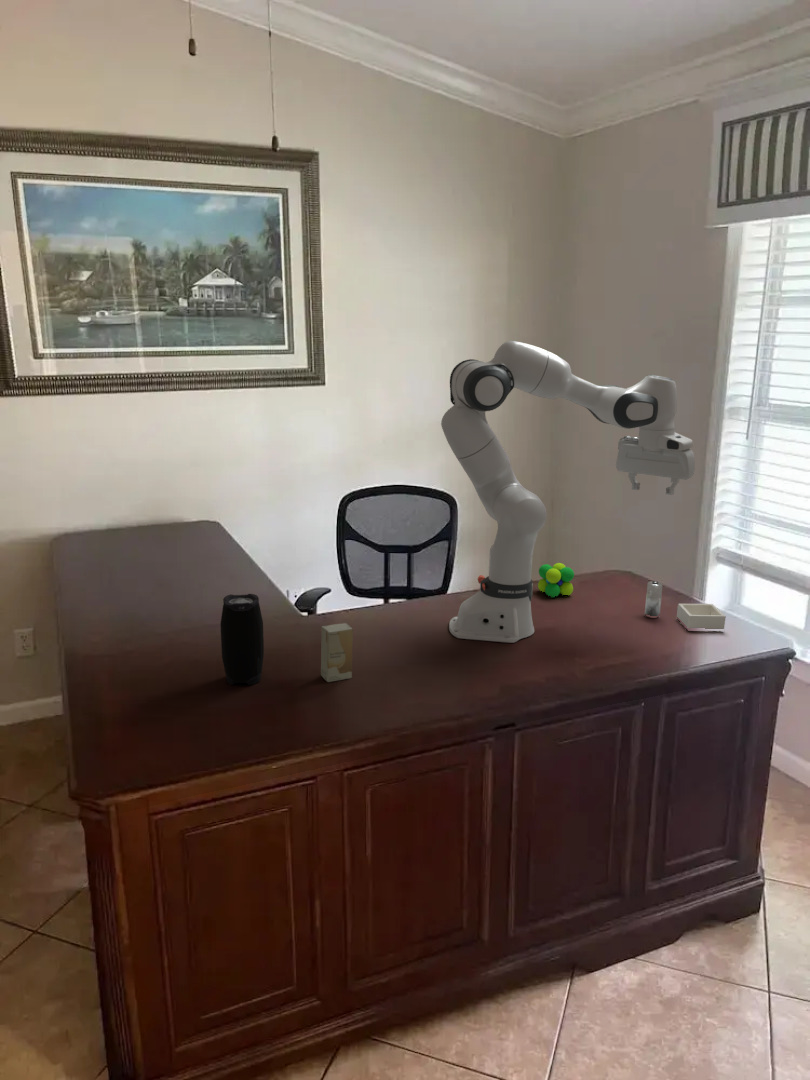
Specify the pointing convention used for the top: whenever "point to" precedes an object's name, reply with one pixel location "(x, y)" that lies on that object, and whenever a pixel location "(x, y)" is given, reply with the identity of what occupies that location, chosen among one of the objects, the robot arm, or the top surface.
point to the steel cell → (653, 598)
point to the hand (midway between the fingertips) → (652, 492)
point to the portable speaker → (242, 639)
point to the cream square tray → (701, 616)
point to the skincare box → (336, 652)
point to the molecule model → (555, 579)
